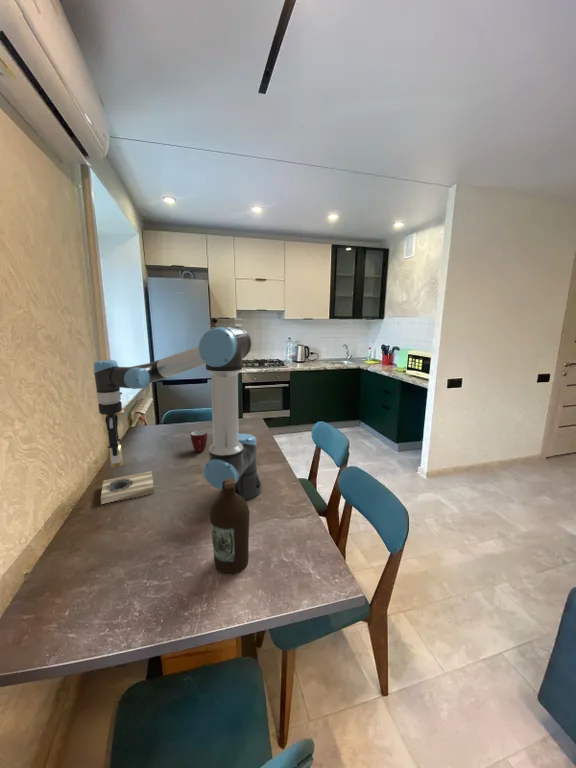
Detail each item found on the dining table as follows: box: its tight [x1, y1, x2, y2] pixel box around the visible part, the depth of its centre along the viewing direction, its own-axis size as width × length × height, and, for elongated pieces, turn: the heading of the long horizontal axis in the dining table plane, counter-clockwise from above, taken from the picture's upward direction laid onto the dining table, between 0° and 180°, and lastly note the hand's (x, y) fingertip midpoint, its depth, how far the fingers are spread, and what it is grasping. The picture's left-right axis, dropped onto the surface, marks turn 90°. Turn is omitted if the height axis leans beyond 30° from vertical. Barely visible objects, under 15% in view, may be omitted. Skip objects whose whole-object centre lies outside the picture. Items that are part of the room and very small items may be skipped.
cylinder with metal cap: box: [108, 443, 124, 468], centre depth 121 cm, size 4×4×8 cm
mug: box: [190, 429, 208, 453], centre depth 160 cm, size 10×8×10 cm
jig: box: [100, 471, 155, 505], centre depth 125 cm, size 14×18×3 cm
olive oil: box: [209, 479, 250, 575], centre depth 86 cm, size 11×11×25 cm
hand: (116, 460), depth 121 cm, fingers closed on cylinder with metal cap, 4 cm apart
